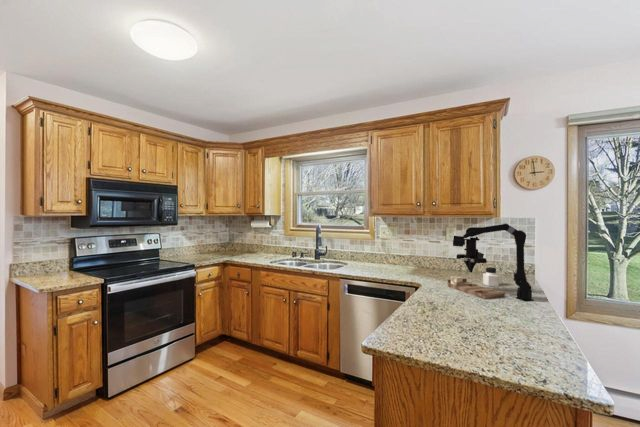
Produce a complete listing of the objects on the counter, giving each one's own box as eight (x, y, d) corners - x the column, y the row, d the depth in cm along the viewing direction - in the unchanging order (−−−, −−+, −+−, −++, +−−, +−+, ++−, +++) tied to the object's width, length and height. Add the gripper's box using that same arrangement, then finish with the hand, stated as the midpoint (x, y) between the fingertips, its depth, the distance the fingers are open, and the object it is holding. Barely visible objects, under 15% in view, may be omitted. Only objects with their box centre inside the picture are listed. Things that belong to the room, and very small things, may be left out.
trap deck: (504, 297, 176) (504, 289, 176) (484, 299, 172) (484, 291, 172) (465, 284, 205) (465, 278, 205) (447, 286, 200) (447, 279, 200)
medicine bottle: (498, 286, 202) (499, 268, 202) (488, 286, 202) (488, 268, 202) (493, 283, 209) (493, 266, 209) (482, 283, 209) (483, 266, 209)
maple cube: (462, 285, 194) (462, 277, 194) (456, 285, 193) (456, 277, 193) (456, 283, 199) (456, 275, 199) (450, 283, 198) (450, 276, 197)
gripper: (493, 248, 180) (493, 274, 180) (469, 245, 198) (469, 268, 198) (479, 249, 176) (478, 275, 177) (456, 245, 194) (455, 269, 194)
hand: (470, 272), depth 186 cm, fingers closed
